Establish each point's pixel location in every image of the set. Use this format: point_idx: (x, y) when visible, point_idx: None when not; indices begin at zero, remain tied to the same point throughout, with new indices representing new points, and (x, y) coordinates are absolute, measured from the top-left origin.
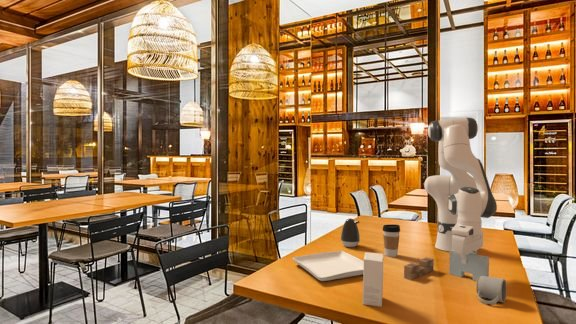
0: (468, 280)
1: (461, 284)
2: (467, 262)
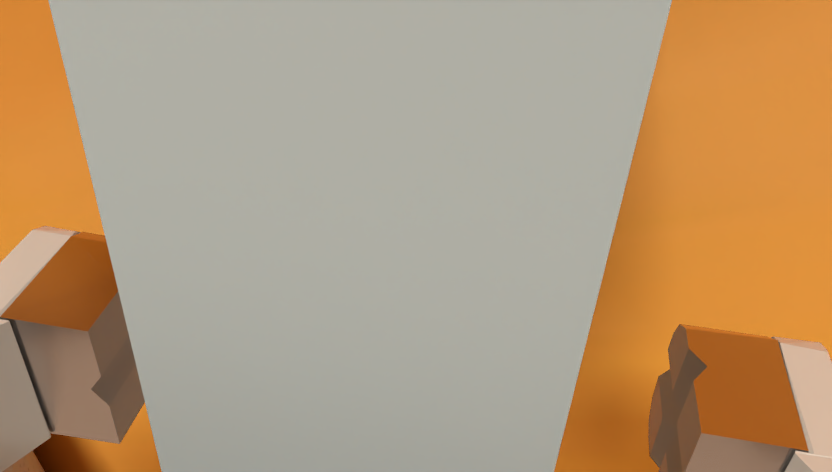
0: None
1: (32, 85)
2: None
